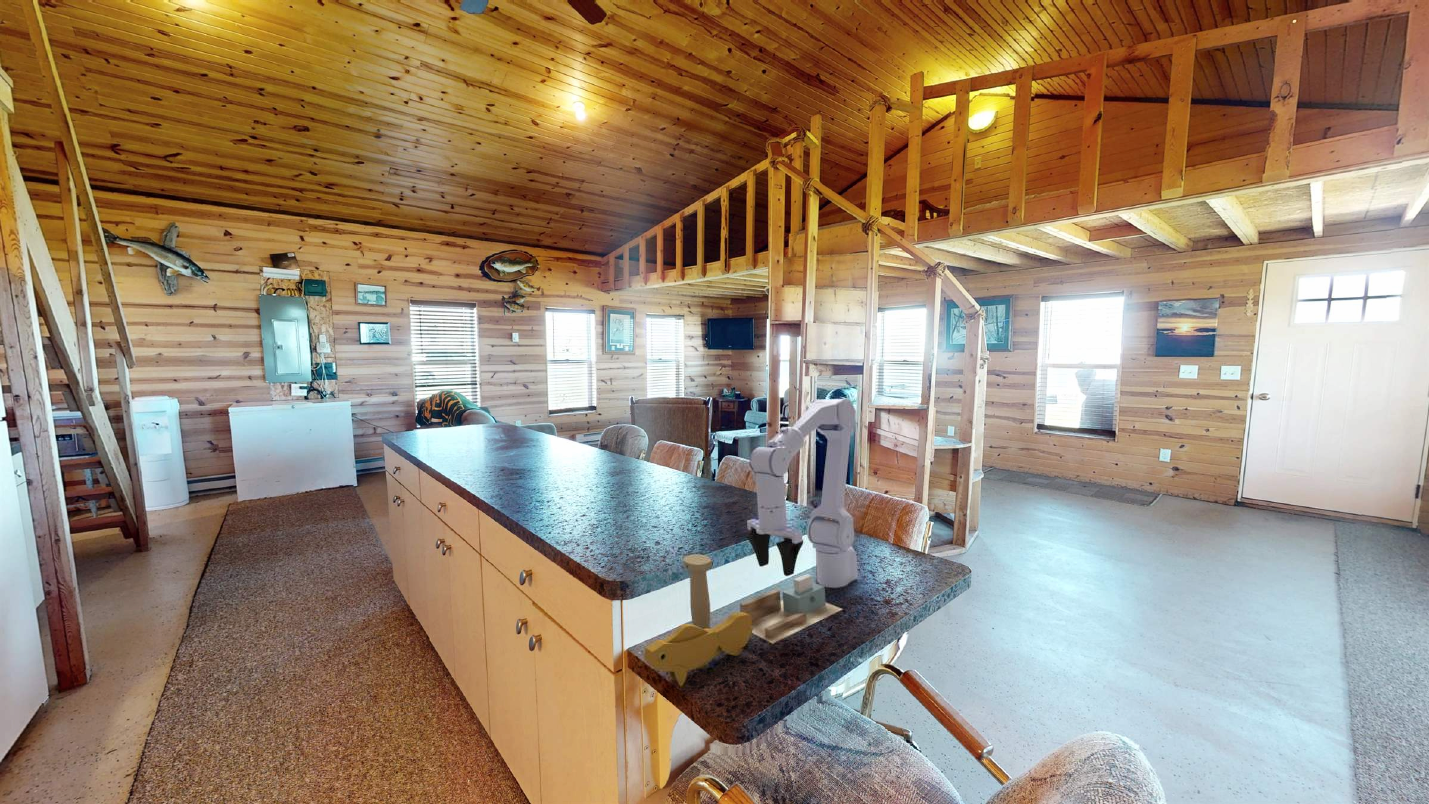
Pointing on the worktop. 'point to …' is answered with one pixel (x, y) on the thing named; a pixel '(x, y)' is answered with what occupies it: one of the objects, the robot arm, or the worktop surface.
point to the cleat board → (780, 616)
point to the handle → (699, 589)
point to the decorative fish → (698, 645)
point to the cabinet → (803, 596)
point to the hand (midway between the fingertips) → (776, 569)
